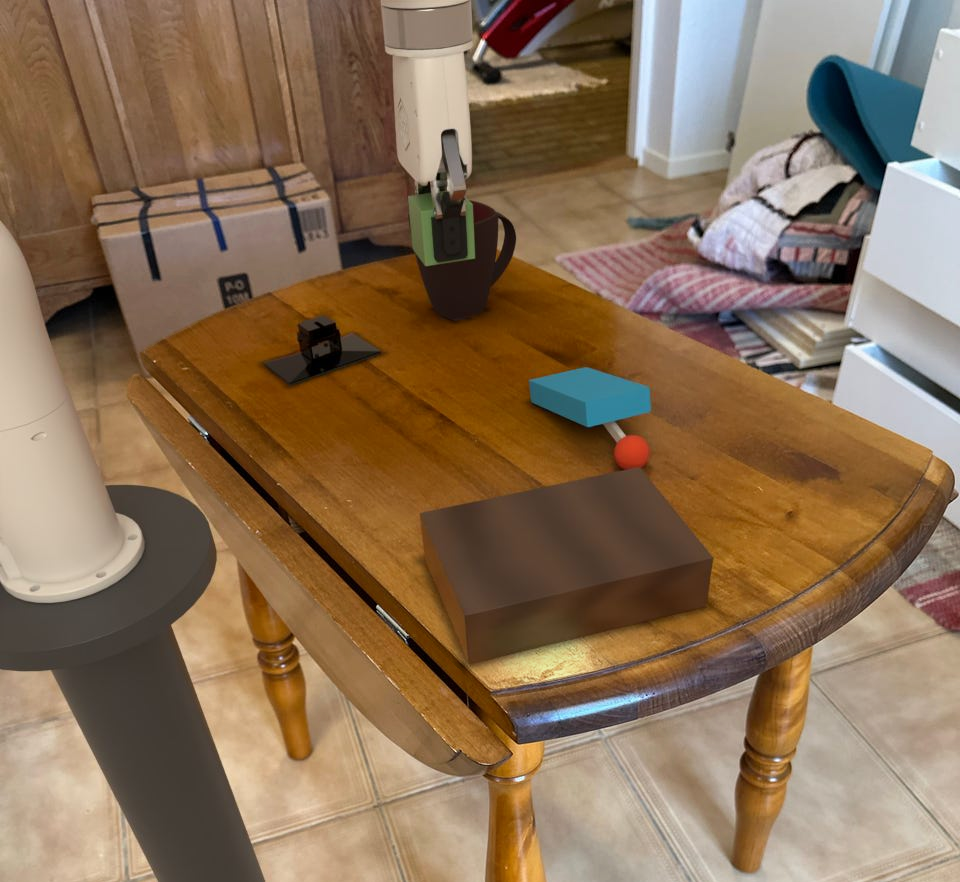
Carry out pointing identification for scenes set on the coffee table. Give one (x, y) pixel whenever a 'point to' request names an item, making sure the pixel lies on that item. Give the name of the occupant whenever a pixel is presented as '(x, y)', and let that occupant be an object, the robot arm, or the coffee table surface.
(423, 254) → the green toy block
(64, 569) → the robot arm
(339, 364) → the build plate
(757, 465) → the coffee table surface
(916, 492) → the coffee table surface
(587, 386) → the lever
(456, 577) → the block
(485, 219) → the cup
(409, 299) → the coffee table surface
